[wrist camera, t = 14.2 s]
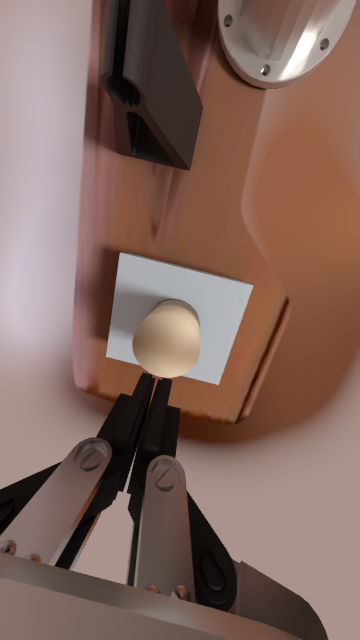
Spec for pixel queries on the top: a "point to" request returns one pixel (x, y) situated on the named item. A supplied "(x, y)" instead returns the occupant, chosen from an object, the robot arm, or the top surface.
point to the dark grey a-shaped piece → (149, 84)
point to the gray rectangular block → (184, 284)
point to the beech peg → (168, 339)
